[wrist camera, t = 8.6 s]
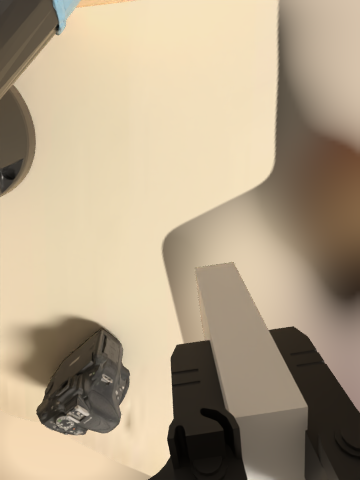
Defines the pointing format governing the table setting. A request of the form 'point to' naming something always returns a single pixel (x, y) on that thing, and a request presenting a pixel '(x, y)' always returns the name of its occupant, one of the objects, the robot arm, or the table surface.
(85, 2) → the box
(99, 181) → the table surface
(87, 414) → the camera
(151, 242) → the table surface
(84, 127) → the table surface
